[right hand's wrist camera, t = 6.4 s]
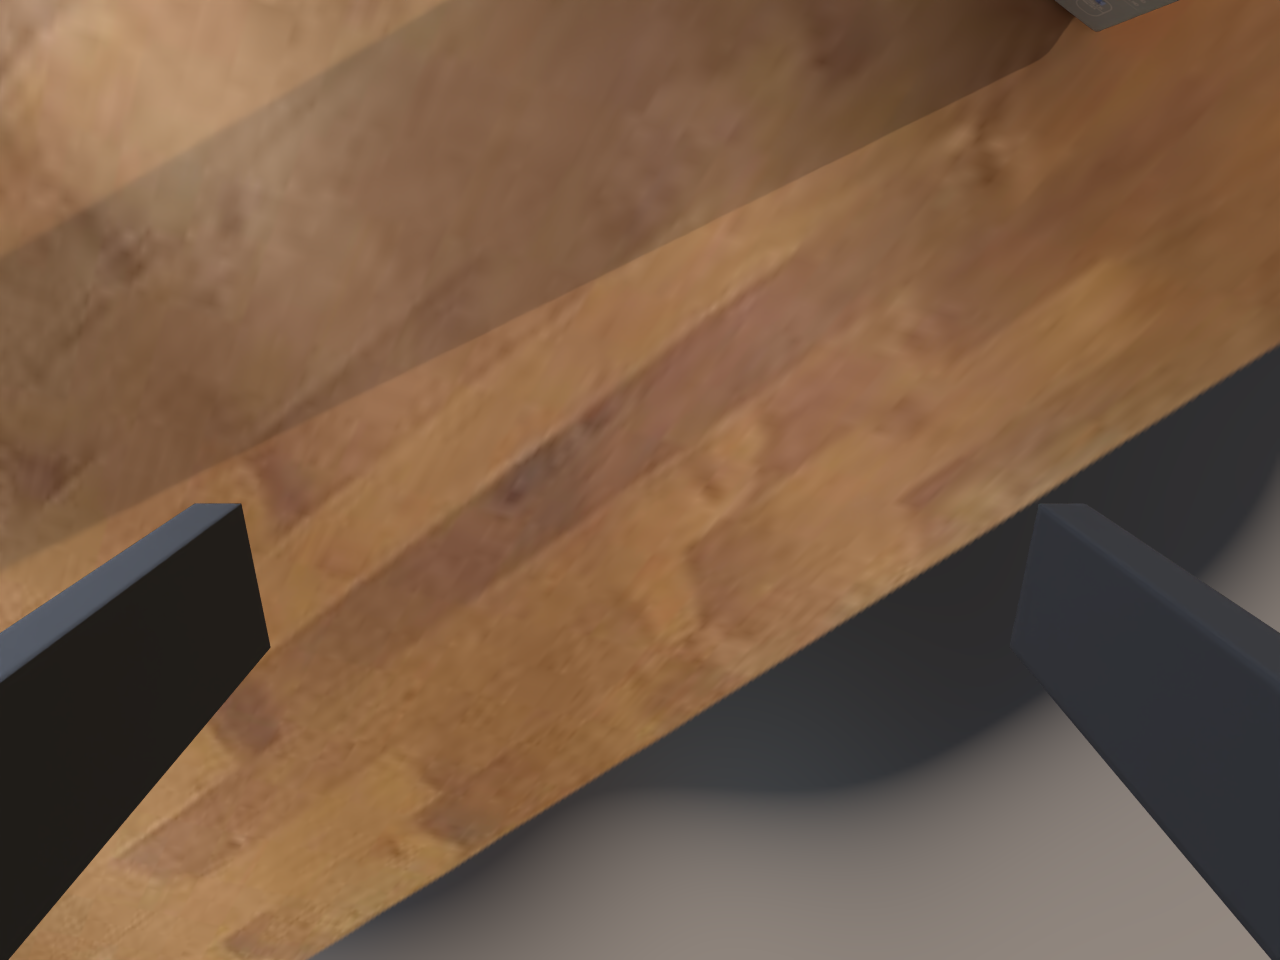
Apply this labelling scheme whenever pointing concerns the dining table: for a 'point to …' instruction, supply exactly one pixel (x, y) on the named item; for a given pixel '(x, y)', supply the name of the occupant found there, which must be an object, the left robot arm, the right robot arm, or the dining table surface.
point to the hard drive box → (1109, 10)
